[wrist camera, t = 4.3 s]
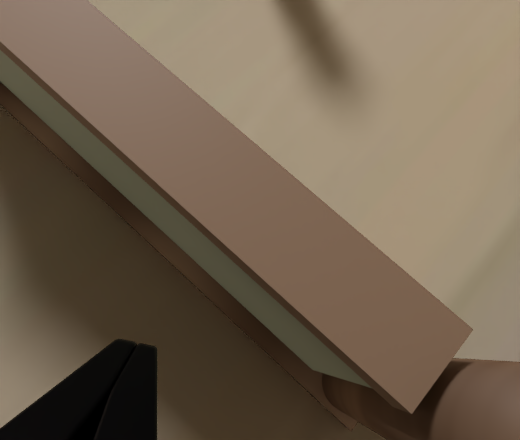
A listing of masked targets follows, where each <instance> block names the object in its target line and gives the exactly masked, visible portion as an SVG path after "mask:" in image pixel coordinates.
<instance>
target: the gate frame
mask: <svg viewBox="0 0 520 440" xmlns="http://www.w3.org/2000/svg"><path fill="white" fill-rule="evenodd" d="M0 104H1V105H2V106H3V107H4V108H5V109H6V110H7V111H8V112H9V113H10V114H12V115H13V116H14V117H15V118H16V119H17V120H18V121H19V122H20V123H21V124H22V125H23V126H24V127H25V128H27V129H28V130H29V131H30V132H31V133H32V134H33V135H34V136H35V137H36V138H37V139H38V140H39V141H40V142H41V143H43V144H44V145H45V146H46V147H47V148H48V149H49V150H50V151H51V152H52V153H53V154H54V155H55V156H56V157H58V158H59V159H60V160H61V161H62V162H63V163H64V164H65V165H66V166H67V167H68V168H69V169H70V170H71V171H73V172H74V173H75V174H76V175H77V176H78V177H79V178H80V179H81V180H82V181H83V182H84V183H85V184H86V185H88V186H89V187H90V188H91V189H92V190H93V191H94V192H95V193H96V194H97V195H98V196H99V197H100V198H101V199H103V200H104V201H105V202H106V203H107V204H108V205H109V206H110V207H111V208H112V209H113V210H114V211H115V212H116V213H118V214H119V215H120V216H121V217H122V218H123V219H124V220H125V221H126V222H127V223H128V224H129V225H130V226H131V227H132V228H134V229H135V230H136V231H137V232H138V233H139V234H140V235H141V236H142V237H143V238H144V239H145V240H146V241H147V242H149V243H150V244H151V245H152V246H153V247H154V248H155V249H156V250H157V251H158V252H159V253H160V254H161V255H162V256H164V257H165V258H166V259H167V260H168V261H169V262H170V263H171V264H172V265H173V266H174V267H175V268H176V269H177V270H179V271H180V272H181V273H182V274H183V275H184V276H185V277H186V278H187V279H188V280H189V281H190V282H191V283H192V284H194V285H195V286H196V287H197V288H198V289H199V290H200V291H201V292H202V293H203V294H204V295H205V296H206V297H207V298H208V299H210V300H211V301H212V302H213V303H214V304H215V305H216V306H217V307H218V308H219V309H220V310H221V311H222V312H223V313H225V314H226V315H227V316H228V317H229V318H230V319H231V320H232V321H233V322H234V323H235V324H236V325H237V326H238V327H240V328H241V329H242V330H243V331H244V332H245V333H246V334H247V335H248V336H249V337H250V338H251V339H252V340H253V341H255V342H256V343H257V344H258V345H259V346H260V347H261V348H262V349H263V350H264V351H265V352H266V353H267V354H268V355H270V356H271V357H272V358H273V359H274V360H275V361H276V362H277V363H278V364H279V365H280V366H281V367H282V368H283V369H284V370H286V371H287V372H288V373H289V374H290V375H291V376H292V377H293V378H294V379H295V380H296V381H297V382H298V383H299V384H301V385H302V386H303V387H304V388H305V389H306V390H307V391H308V392H309V393H310V394H311V395H312V396H313V397H314V398H316V399H317V400H318V401H319V402H320V403H321V404H322V405H323V406H324V407H325V408H326V409H327V410H328V411H329V412H331V413H332V414H333V415H334V416H335V417H336V418H337V419H338V420H339V421H340V422H341V423H342V424H343V425H344V426H346V427H347V428H348V429H349V430H350V431H352V429H353V428H354V427H355V426H356V424H357V423H358V422H359V423H361V424H363V425H364V426H366V427H368V428H369V429H371V430H373V431H374V432H376V433H378V434H379V435H381V436H382V437H384V438H386V439H387V440H520V362H510V361H493V360H476V359H459V358H452V360H451V361H450V362H449V364H448V365H447V366H446V368H445V369H444V371H443V372H442V373H441V375H440V376H439V377H438V379H437V380H436V382H435V383H434V384H433V386H432V387H431V388H430V390H429V391H428V393H427V394H426V395H425V397H424V398H423V399H422V401H421V402H420V404H419V405H418V406H417V408H416V409H415V410H414V412H413V413H412V414H410V413H407V412H405V411H402V410H400V409H397V408H394V407H392V406H391V405H390V404H389V403H388V402H387V401H386V400H385V399H384V398H383V397H381V396H380V395H379V394H378V393H377V392H376V391H375V390H374V389H373V388H369V387H366V386H363V385H360V384H357V383H353V382H350V381H347V380H344V379H340V378H337V377H334V376H331V375H327V374H324V373H321V372H318V371H314V370H312V369H311V368H310V367H309V366H308V365H307V364H306V363H304V362H303V361H302V360H301V359H300V358H299V357H298V356H297V355H296V354H295V353H294V352H293V351H291V350H290V349H289V348H288V347H287V346H286V345H285V344H284V343H283V342H282V341H281V340H280V339H278V338H277V337H276V336H275V335H274V334H273V333H272V332H271V331H270V330H269V329H268V328H267V327H265V326H264V325H263V324H262V323H261V322H260V321H259V320H258V319H257V318H256V317H255V316H254V315H252V314H251V313H250V312H249V311H248V310H247V309H246V308H245V307H244V306H243V305H242V304H241V303H240V302H238V301H237V300H236V299H235V298H234V297H233V296H232V295H231V294H230V293H229V292H228V291H227V290H225V289H224V288H223V287H222V286H221V285H220V284H219V283H218V282H217V281H216V280H215V279H214V278H212V277H211V276H210V275H209V274H208V273H207V272H206V271H205V270H204V269H203V268H202V267H201V266H199V265H198V264H197V263H196V262H195V261H194V260H193V259H192V258H191V257H190V256H189V255H188V254H186V253H185V252H184V251H183V250H182V249H181V248H180V247H179V246H178V245H177V244H176V243H175V242H173V241H172V240H171V239H170V238H169V237H168V236H167V235H166V234H165V233H164V232H163V231H162V230H160V229H159V228H158V227H157V226H156V225H155V224H154V223H153V222H152V221H151V220H150V219H149V218H148V217H146V216H145V215H144V214H143V213H142V212H141V211H140V210H139V209H138V208H137V207H136V206H135V205H133V204H132V203H131V202H130V201H129V200H128V199H127V198H126V197H125V196H124V195H123V194H122V193H120V192H119V191H118V190H117V189H116V188H115V187H114V186H113V185H112V184H111V183H110V182H109V181H107V180H106V179H105V178H104V177H103V176H102V175H101V174H100V173H99V172H98V171H97V170H96V169H94V168H93V167H92V166H91V165H90V164H89V163H88V162H87V161H86V160H85V159H84V158H83V157H81V156H80V155H79V154H78V153H77V152H76V151H75V150H74V149H73V148H72V147H71V146H70V145H68V144H67V143H66V142H65V141H64V140H63V139H62V138H61V137H60V136H59V135H58V134H57V133H55V132H54V131H53V130H52V129H51V128H50V127H49V126H48V125H47V124H46V123H45V122H44V121H43V120H41V119H40V118H39V117H38V116H37V115H36V114H35V113H34V112H33V111H32V110H31V109H30V108H28V107H27V106H26V105H25V104H24V103H23V102H22V101H21V100H20V99H19V98H18V97H17V96H15V95H14V94H13V93H12V92H11V91H10V90H9V89H8V88H7V87H6V86H5V85H4V84H2V83H0Z"/></svg>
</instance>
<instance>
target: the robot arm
mask: <svg viewBox="0 0 520 440" xmlns="http://www.w3.org/2000/svg"><path fill="white" fill-rule="evenodd" d="M0 440H157V348H156V347H155V346H151V345H147V344H142V343H139V344H138V345H137V344H136V343H135V342H133V341H128V340H124V339H117V340H115V341H113V342H112V343H111V344H109V345H108V346H107V347H106V348H104V349H103V350H102V351H100V352H99V353H98V354H96V355H95V356H94V357H93V358H91V359H90V360H89V361H87V362H86V363H85V364H83V365H82V366H81V367H80V368H78V369H77V370H76V371H74V372H73V373H72V374H70V375H69V376H68V377H67V378H65V379H64V380H63V381H61V382H60V383H59V384H57V385H56V386H55V387H54V388H52V389H51V390H50V391H48V392H47V393H46V394H44V395H43V396H42V397H41V398H39V399H38V400H37V401H35V402H34V403H33V404H31V405H30V406H29V407H27V408H26V409H25V410H24V411H22V412H21V413H20V414H18V415H17V416H16V417H14V418H13V419H12V420H11V421H9V422H8V423H7V424H5V425H4V426H3V427H1V428H0Z"/></svg>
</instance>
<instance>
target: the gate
mask: <svg viewBox="0 0 520 440" xmlns="http://www.w3.org/2000/svg"><path fill="white" fill-rule="evenodd" d="M0 83H2V84H4V85H5V86H6V87H7V88H8V89H9V90H10V91H11V92H12V93H13V94H14V95H15V96H17V97H18V98H19V99H20V100H21V101H22V102H23V103H24V104H25V105H26V106H27V107H28V108H30V109H31V110H32V111H33V112H34V113H35V114H36V115H37V116H38V117H39V118H40V119H41V120H43V121H44V122H45V123H46V124H47V125H48V126H49V127H50V128H51V129H52V130H53V131H54V132H55V133H57V134H58V135H59V136H60V137H61V138H62V139H63V140H64V141H65V142H66V143H67V144H68V145H70V146H71V147H72V148H73V149H74V150H75V151H76V152H77V153H78V154H79V155H80V156H81V157H83V158H84V159H85V160H86V161H87V162H88V163H89V164H90V165H91V166H92V167H93V168H94V169H96V170H97V171H98V172H99V173H100V174H101V175H102V176H103V177H104V178H105V179H106V180H107V181H109V182H110V183H111V184H112V185H113V186H114V187H115V188H116V189H117V190H118V191H119V192H120V193H122V194H123V195H124V196H125V197H126V198H127V199H128V200H129V201H130V202H131V203H132V204H133V205H135V206H136V207H137V208H138V209H139V210H140V211H141V212H142V213H143V214H144V215H145V216H146V217H148V218H149V219H150V220H151V221H152V222H153V223H154V224H155V225H156V226H157V227H158V228H159V229H160V230H162V231H163V232H164V233H165V234H166V235H167V236H168V237H169V238H170V239H171V240H172V241H173V242H175V243H176V244H177V245H178V246H179V247H180V248H181V249H182V250H183V251H184V252H185V253H186V254H188V255H189V256H190V257H191V258H192V259H193V260H194V261H195V262H196V263H197V264H198V265H199V266H201V267H202V268H203V269H204V270H205V271H206V272H207V273H208V274H209V275H210V276H211V277H212V278H214V279H215V280H216V281H217V282H218V283H219V284H220V285H221V286H222V287H223V288H224V289H225V290H227V291H228V292H229V293H230V294H231V295H232V296H233V297H234V298H235V299H236V300H237V301H238V302H240V303H241V304H242V305H243V306H244V307H245V308H246V309H247V310H248V311H249V312H250V313H251V314H252V315H254V316H255V317H256V318H257V319H258V320H259V321H260V322H261V323H262V324H263V325H264V326H265V327H267V328H268V329H269V330H270V331H271V332H272V333H273V334H274V335H275V336H276V337H277V338H278V339H280V340H281V341H282V342H283V343H284V344H285V345H286V346H287V347H288V348H289V349H290V350H291V351H293V352H294V353H295V354H296V355H297V356H298V357H299V358H300V359H301V360H302V361H303V362H304V363H306V364H307V365H308V366H309V367H310V368H311V369H312V370H314V371H318V372H321V373H324V374H327V375H331V376H334V377H337V378H340V379H344V380H347V381H350V382H353V383H357V384H360V385H363V386H366V387H369V388H373V389H374V390H375V391H376V392H377V393H378V394H379V395H380V396H381V397H383V398H384V399H385V400H386V401H387V402H388V403H389V404H390V405H391V406H392V407H394V408H397V409H400V410H402V411H405V412H407V413H410V414H412V413H413V412H414V410H415V409H416V408H417V406H418V405H419V404H420V402H421V401H422V399H423V398H424V397H425V395H426V394H427V393H428V391H429V390H430V388H431V387H432V386H433V384H434V383H435V382H436V380H437V379H438V377H439V376H440V375H441V373H442V372H443V371H444V369H445V368H446V366H447V365H448V364H449V362H450V361H451V360H452V358H453V357H454V355H455V354H456V353H457V351H458V350H459V349H460V347H461V346H462V344H463V343H464V342H465V340H466V339H467V338H468V336H469V335H470V333H471V332H472V331H473V329H472V328H471V327H470V326H469V325H467V324H466V323H465V322H464V321H463V320H462V319H460V318H459V317H458V316H457V315H456V314H454V313H453V312H452V311H451V310H450V309H449V308H447V307H446V306H445V305H444V304H443V303H442V302H440V301H439V300H438V299H437V298H436V297H435V296H433V295H432V294H431V293H430V292H429V291H427V290H426V289H425V288H424V287H423V286H422V285H420V284H419V283H418V282H417V281H416V280H415V279H413V278H412V277H411V276H410V275H409V274H408V273H406V272H405V271H404V270H403V269H402V268H401V267H399V266H398V265H397V264H396V263H395V262H393V261H392V260H391V259H390V258H389V257H388V256H386V255H385V254H384V253H383V252H382V251H381V250H379V249H378V248H377V247H376V246H375V245H374V244H372V243H371V242H370V241H369V240H368V239H367V238H365V237H364V236H363V235H362V234H361V233H359V232H358V231H357V230H356V229H355V228H354V227H352V226H351V225H350V224H349V223H348V222H347V221H345V220H344V219H343V218H342V217H341V216H340V215H338V214H337V213H336V212H335V211H334V210H333V209H331V208H330V207H329V206H328V205H327V204H325V203H324V202H323V201H322V200H321V199H320V198H318V197H317V196H316V195H315V194H314V193H313V192H311V191H310V190H309V189H308V188H307V187H306V186H304V185H303V184H302V183H301V182H300V181H299V180H297V179H296V178H295V177H294V176H293V175H291V174H290V173H289V172H288V171H287V170H286V169H284V168H283V167H282V166H281V165H280V164H279V163H277V162H276V161H275V160H274V159H273V158H272V157H270V156H269V155H268V154H267V153H266V152H264V151H263V150H262V149H261V148H260V147H259V146H257V145H256V144H255V143H254V142H253V141H252V140H250V139H249V138H248V137H247V136H246V135H245V134H243V133H242V132H241V131H240V130H239V129H238V128H236V127H235V126H234V125H233V124H232V123H230V122H229V121H228V120H227V119H226V118H225V117H223V116H222V115H221V114H220V113H219V112H218V111H216V110H215V109H214V108H213V107H212V106H211V105H209V104H208V103H207V102H206V101H205V100H204V99H202V98H201V97H200V96H199V95H198V94H196V93H195V92H194V91H193V90H192V89H191V88H189V87H188V86H187V85H186V84H185V83H184V82H182V81H181V80H180V79H179V78H178V77H177V76H175V75H174V74H173V73H172V72H171V71H170V70H168V69H167V68H166V67H165V66H164V65H162V64H161V63H160V62H159V61H158V60H157V59H155V58H154V57H153V56H152V55H151V54H150V53H148V52H147V51H146V50H145V49H144V48H143V47H141V46H140V45H139V44H138V43H137V42H136V41H134V40H133V39H132V38H131V37H130V36H128V35H127V34H126V33H125V32H124V31H123V30H121V29H120V28H119V27H118V26H117V25H116V24H114V23H113V22H112V21H111V20H110V19H109V18H107V17H106V16H105V15H104V14H103V13H102V12H100V11H99V10H98V9H97V8H96V7H94V6H93V5H92V4H91V3H90V2H89V1H87V0H0Z"/></svg>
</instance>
